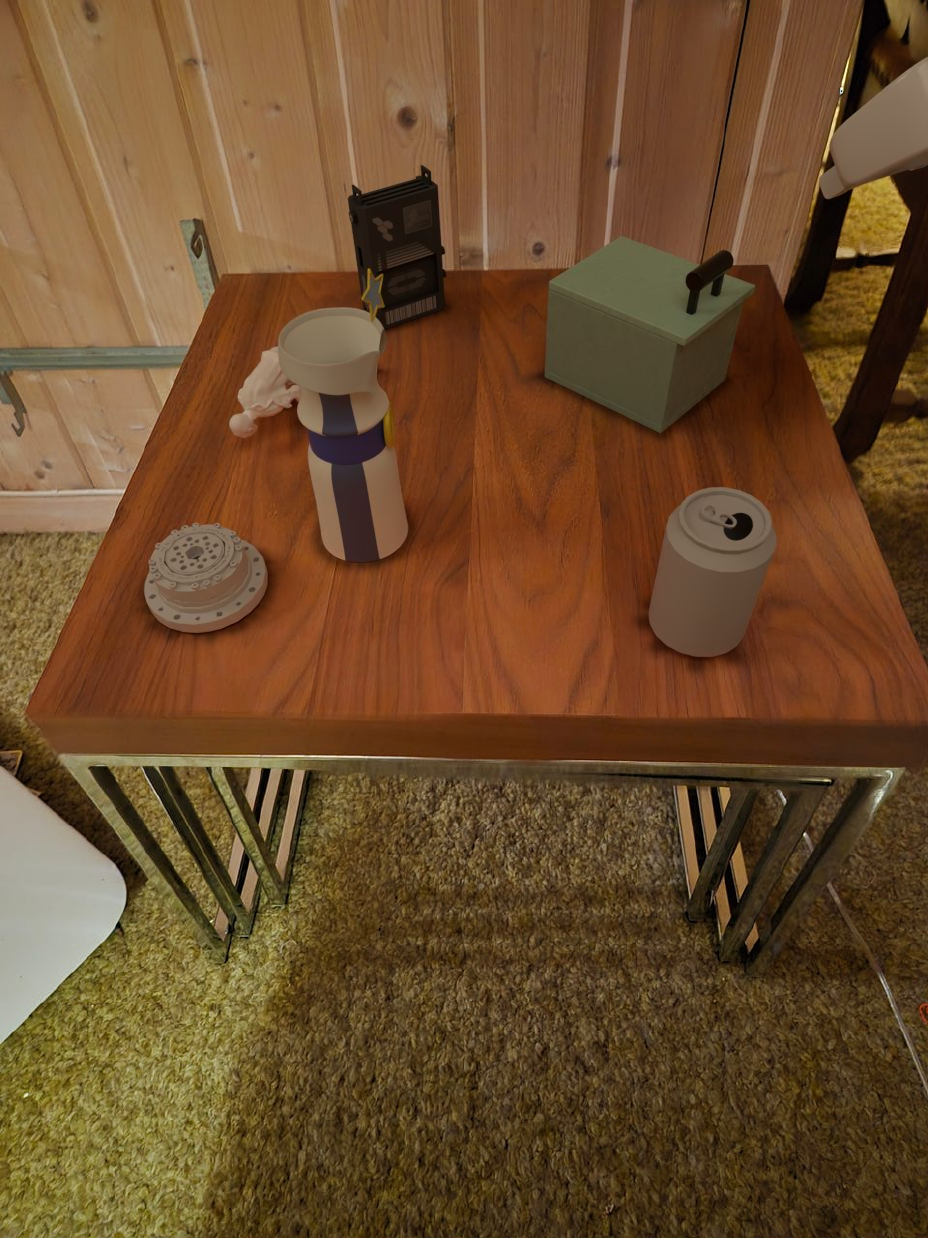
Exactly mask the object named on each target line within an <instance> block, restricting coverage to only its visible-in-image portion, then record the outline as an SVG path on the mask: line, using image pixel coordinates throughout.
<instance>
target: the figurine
mask: <svg viewBox="0 0 928 1238" xmlns="http://www.w3.org/2000/svg"><path fill="white" fill-rule="evenodd" d="M287 386H290V387H289V388H287ZM237 393H238V394H237V401H238V403H240V405H241V407H242V409H243V412H241V413H235V414H233V415H232V416H231V417H230V418H229V421H228V422H229V423H228V424H229V425H228V426H229V429H230V430H231V433H232V434H233V435H234V436H235V437H238V438H242V439H247V438H251V437H252V436H253V435H254V434H255V433H257V430H258V427H259V426H258V425H257V424H256V423H255V420H256V419H258V418H268V417H274V416H275V415H277V414H279V413H281V412H282V411H283V410H284V408H285V409H290V408H292V407H293V404H291V403H292V402H293V400H295V401H296V402H297V403H298V404H299V401H300V399H301V398H302V391H301V387H300V386H299V385H298V384H296V383H294V382H293V381H291V380H290V379H288V378H287V377H286V376H285V375H284V373H283V372H282V370H281V368H280V364H279V357H278V345H277V346H273V347H272V348H270V349H267V350H264V351H262V352H261V357H260V362H258V364H257V365H256V367H255V368H254V369H253V370H252V372H251V373H250V374H249V375H248V376H247V377H246V378H245V380H244V382H243V385H242V387H241V388H240V389H238V392H237Z"/></svg>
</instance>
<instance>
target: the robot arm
mask: <svg viewBox="0 0 928 1238" xmlns="http://www.w3.org/2000/svg"><path fill="white" fill-rule="evenodd" d="M828 147H829V151H830V155H831V158H832V161H833V164H834V165H833V166H831V168H829V169H828V170H826V171H825V172H824V173H822V174H821V175H820V177H819V179H818V184H819V187H820V190H821V192H822V195H823V197H824V198H825V199H827V200H831V199H833V198H836V197H839V196H842V195H844V194H846V193H847V192H848V191H850V190H852V189H856V188H858V187H861V186H864V185H867V184H870V183H872V182H875V181H879V180H882V179H884V178H888V177H890V176H893V175H896V174H899V173H902V172H905V171H909V172H912V171H913V172H914V171H915V170H920V169H922V168H925V167H927V166H928V56H926V57H925V58H924V57H923V59H920V61H918V62H916V63H915V64H914V65H913V66H911V67H909V68H907V70H905V71H904V72H903V73H901V74H900V75H899V76H898V77H896V78H895V79H894V80H893V81H891V82H890V83H889V84H888V85H886V86H885V87H884V88H883V89H881V91H879V92H878V93H877V94H876V95H874V96H873V97H872V98H870V100H868V101H867V102H866V103H865V104H863V106H861V107H860V108H859V109H858V110H857V111H856V112H854V113H853V114H852V115H851V116H849V117H848V118H847V119H846V120H845V121H843V123H841V125H840V126H839V127H838V128H837V129H836V130H835V132H834V133H833V135H832V137H831V138H830V140H829V144H828Z"/></svg>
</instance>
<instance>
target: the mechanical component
mask: <svg viewBox="0 0 928 1238" xmlns="http://www.w3.org/2000/svg"><path fill="white" fill-rule="evenodd" d="M154 548H155V549H154V550H153V552H152V554H151V556H150V558H149V559H148V560H147V563H148V568H149V571H148V573H147V575H146V578H145V580H144V587H143V594H144V597H145V601H146V604H147V606H148V609H149V611H150V612H151V614H152V615H153V616H154V617H155V618H156V620H157V621H158V622H159V623H160V624H162V625H163V626H166V627H167V628H169V629H172V630H174V631H175V630H176V631H179V632H182V633H192V634H193V633H194V634H200V633H207V632H208V633H209V632H214V631H218V630H222V629H223V628H227V627H228V626H231V625H233V624H235V623H237V622H239V621H240V620H242V619H243V618H244V617H247V615H249V614H251V612H252V611H253V610H255V608H256V607H257V606H258V605H259V604H260V603H261V601H262V599H263V598H264V596H265V593H266V591H267V588H268V583H269V581H268V580H269V579H268V578H269V576H268V575H269V574H268V573H269V572H268V571H269V570H268V568H267V565H266V562H265V559H264V557H263V556H262V554H261V553H260V552H259V550H258V549H257V548H256V546H254V545H253V544H251V543H250V542H249V541H246V540H244V539H241V538H240V537H239V535H237V532H236V531H235V530H232V529H230V528H228V527H225V526H222V525H221V523H219V522H215V523H214V524H210V523H208V524H200V522H193V523H192V524H191V525H190V526H189V525H187V524H183V525H182V526H181V528H180V530H178V529H172V530H171V532H170V534H169V535H168V536H167V537H165V538H164V539H163V540H162V541H161V542H157V543H155V545H154Z"/></svg>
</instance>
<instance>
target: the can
mask: <svg viewBox="0 0 928 1238" xmlns="http://www.w3.org/2000/svg"><path fill="white" fill-rule="evenodd" d="M773 522H774V521H773V519H772V515H771V511H769V510H768V508H767V507H766V506H765V504H764V503H763V502H762V501H760V500H759V499H757V498H756V497H754V496H753V495H752V494H750V493H747V492H744V491H743V490H740V489H735V488H731V487H726V486H719V487H718V486H716V487H715V486H711V487H707V488H703V489H698V490H696V491H694V492H693V493H691V494H688V495H687V496H686V497H685V499H683V501H682V502H681V503H680V505H678V506H677V507H676V508H675V509H674V510H673V511H672V512H671V513H670V515H669V516H668V520H667V522H666V525H665V529H664V535H663V539H662V545H661V550H660V554H659V560H658V565H657V570H656V574H655V577H654V578H655V579H654V584H653V587H652V593H651V597H650V602H649V608H648V621H649V626H650V628H651V629H652V630H653V633H654V635H655V636H656V637H657V638H658V639H659V640H660V641H661V642H662V643H663V644H664V645H665V646H667V647H668V648H670V649H672V650H674V651H676V652H678V653H680V654H683V655H687V656H691V657H695V658H698V657H699V658H713V657H716V656H720V655H724V654H727V653H729V652H730V651H731V650H733V649H735V648H737V647H738V646H739V644H740V643H741V642H742V640H743V639H744V637H745V635H746V633H747V630H748V627H749V624H750V622H751V619H752V616H753V613H754V610H755V607H756V605H757V601H758V599H759V596H760V593H761V590H762V587H763V585H764V582H765V579H766V576H767V573H768V570H769V568H770V565H771V562H772V559H773V556H774V554H775V551H776V547H777V541H778V538H777V533H776V531H775V527H774V525H773Z"/></svg>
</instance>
